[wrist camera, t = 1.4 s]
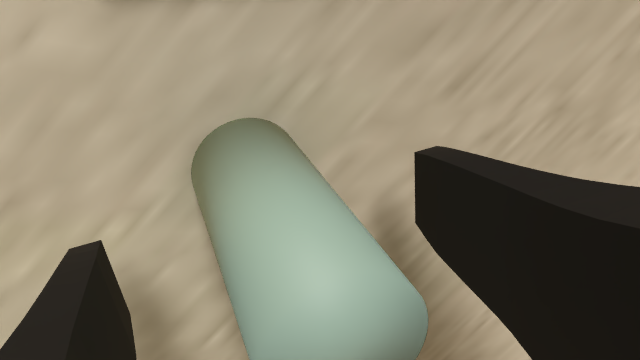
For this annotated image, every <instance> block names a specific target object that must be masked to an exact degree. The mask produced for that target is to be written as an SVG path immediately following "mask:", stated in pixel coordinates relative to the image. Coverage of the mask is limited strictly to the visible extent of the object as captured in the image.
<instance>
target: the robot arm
mask: <svg viewBox="0 0 640 360" xmlns="http://www.w3.org/2000/svg"><path fill="white" fill-rule="evenodd" d="M415 223H416V224H417V226H418V227H419V229H420V230H421V232H422V233H423V235H424V236H425V238H426V239H427V241H428V242H429V243H430V245H431V246H432V247H433V249H434V250H435V251H436V253H437V254H438V255H439V256H440V257H441V258H442V259H443V261H444V262H445V263H446V264H447V265H448V266H449V267H450V268H451V269H452V270H453V271H454V272H455V273H456V274H457V275H458V276H459V277H460V279H461V280H462V281H463V282H464V283H465V284H466V285H467V286H468V287H469V288H470V289H471V290H472V291H473V292H474V293H475V294H476V295H477V296H478V297H479V298H480V299H481V300H482V301H483V302H484V303H485V304H486V305H487V306H488V308H489V309H490V310H491V311H492V312H493V313H494V314H495V315H496V316H497V317H498V318H499V319H500V320H501V321H502V323H503V324H504V325H505V326H506V327H507V328H508V329H509V330H510V332H511V333H512V334H513V335H514V337H515V338H516V339H517V341H518V342H519V343H520V344H521V346H522V347H523V348H524V350H525V351H526V352H527V354H528V355H529V356H530V357H531V359H532V360H640V187H634V186H625V185H617V184H610V183H603V182H596V181H589V180H583V179H578V178H572V177H567V176H562V175H558V174H553V173H548V172H544V171H539V170H535V169H531V168H527V167H523V166H519V165H515V164H511V163H507V162H503V161H499V160H495V159H492V158H488V157H484V156H480V155H477V154H473V153H469V152H465V151H461V150H456V149H452V148H447V147H440V146H435V147H432V148H428V149H425V150H421V151H417V152H415ZM0 360H136V350H135V343H134V336H133V329H132V323H131V316H130V313H129V310H128V307H127V305H126V302H125V300H124V297H123V295H122V292H121V290H120V287H119V285H118V282H117V280H116V277H115V274H114V272H113V269H112V267H111V264H110V262H109V259H108V257H107V254H106V252H105V249H104V246H103V244H102V241H101V240H99V241H96V242H92V243H89V244H85V245H82V246H78V247H74V248H71V249H69V250H68V252H67V253H66V255H65V256H64V258H63V259H62V261H61V262H60V264H59V265H58V267H57V268H56V270H55V271H54V273H53V275H52V276H51V278H50V279H49V281H48V282H47V284H46V286H45V287H44V289H43V290H42V292H41V293H40V295H39V296H38V298H37V299H36V301H35V302H34V304H33V305H32V307H31V308H30V310H29V311H28V313H27V314H26V316H25V317H24V319H23V320H22V321H21V323H20V324H19V325H18V327H17V328H16V329H15V331H14V332H13V333H12V335H11V336H10V337H9V339H8V340H7V341H6V342H5V344H4V345H3V346H2V348H1V349H0Z"/></svg>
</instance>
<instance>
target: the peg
mask: <svg viewBox="0 0 640 360" xmlns="http://www.w3.org/2000/svg"><path fill="white" fill-rule="evenodd" d="M191 176H192V183H193V187H194V190H195V193H196V196H197V199H198V202H199V205H200V208H201V211H202V214H203V217H204V221H205V224H206V227H207V230H208V233H209V236H210V239H211V242H212V245H213V248H214V251H215V254H216V258H217V261H218V264H219V267H220V270H221V273H222V276H223V279H224V282H225V285H226V288H227V291H228V295H229V298H230V301H231V304H232V307H233V310H234V313H235V316H236V319H237V322H238V325H239V328H240V332H241V335H242V338H243V341H244V344H245V347H246V350H247V353H248V356H249V359H250V360H416V358H417V356H418V354H419V353H420V351H421V348H422V346H423V344H424V341H425V338H426V334H427V329H428V312H427V308H426V305H425V302H424V300H423V298H422V296H421V295H420V294H419V292H418V291H417V290H416V289H415V288H414V286H413V285H412V284H411V283H410V282H409V280H408V279H407V278H406V277H405V275H404V274H403V273H402V272H401V271H400V269H399V268H398V267H397V266H396V265H395V263H394V262H393V261H392V260H391V259H390V257H389V256H388V255H387V254H386V252H385V251H384V250H383V249H382V248H381V246H380V245H379V244H378V243H377V242H376V240H375V239H374V238H373V237H372V235H371V234H370V233H369V232H368V231H367V229H366V228H365V227H364V226H363V225H362V223H361V222H360V221H359V220H358V219H357V217H356V216H355V215H354V214H353V212H352V211H351V210H350V209H349V208H348V206H347V205H346V204H345V203H344V202H343V200H342V199H341V198H340V197H339V195H338V194H337V193H336V192H335V191H334V189H333V188H332V187H331V186H330V185H329V183H328V182H327V181H326V180H325V178H324V177H323V176H322V175H321V174H320V172H319V171H318V170H317V169H316V168H315V166H314V165H313V164H312V163H311V162H310V160H309V159H308V158H307V157H306V155H305V154H304V153H303V152H302V151H301V149H300V148H299V147H298V146H297V145H296V143H295V142H294V141H293V140H292V138H291V137H290V136H289V135H288V134H287V132H285V131H284V130H283V129H282V128H281V127H279V126H278V125H276V124H274V123H272V122H270V121H267V120H263V119H258V118H243V119H238V120H234V121H231V122H228V123H226V124H224V125H221V126H220V127H218V128H217V129H215V130H214V131H212V132H211V133H210V134H209V135H208V136H207V137H206V138H205V139H204V140H203V142H202V143H201V144H200V146H199V147H198V149H197V151H196V153H195V156H194V158H193V163H192V169H191Z"/></svg>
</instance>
